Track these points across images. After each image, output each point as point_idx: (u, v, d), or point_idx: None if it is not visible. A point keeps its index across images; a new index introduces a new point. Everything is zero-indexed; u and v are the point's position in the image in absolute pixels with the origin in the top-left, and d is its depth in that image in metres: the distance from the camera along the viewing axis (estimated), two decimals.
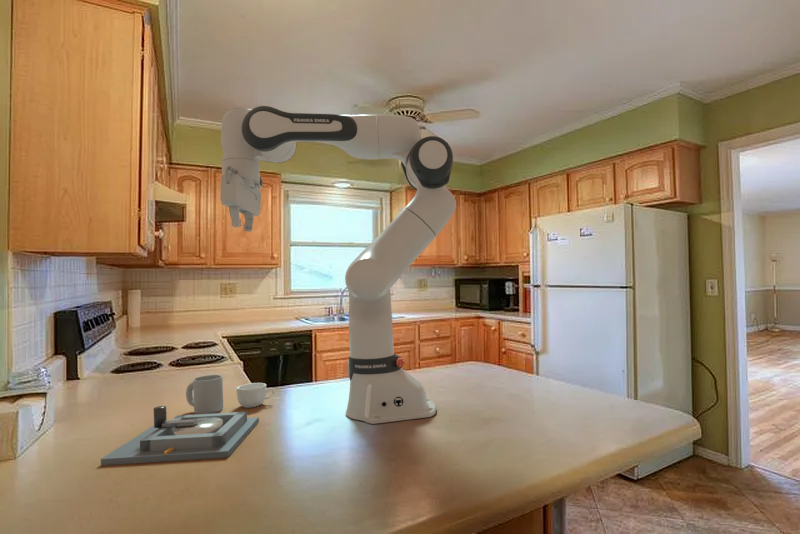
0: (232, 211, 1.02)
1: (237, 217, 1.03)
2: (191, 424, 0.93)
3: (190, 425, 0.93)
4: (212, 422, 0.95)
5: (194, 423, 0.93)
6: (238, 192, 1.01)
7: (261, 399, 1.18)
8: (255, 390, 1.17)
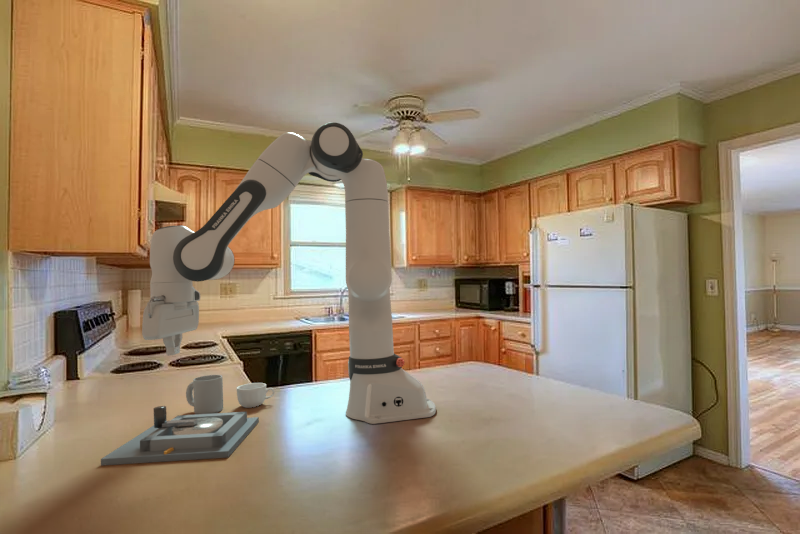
0: (166, 341, 0.99)
1: (172, 346, 0.99)
2: (191, 424, 0.93)
3: (190, 425, 0.93)
4: (212, 422, 0.95)
5: (194, 423, 0.93)
6: (163, 323, 0.94)
7: (261, 399, 1.18)
8: (255, 390, 1.17)
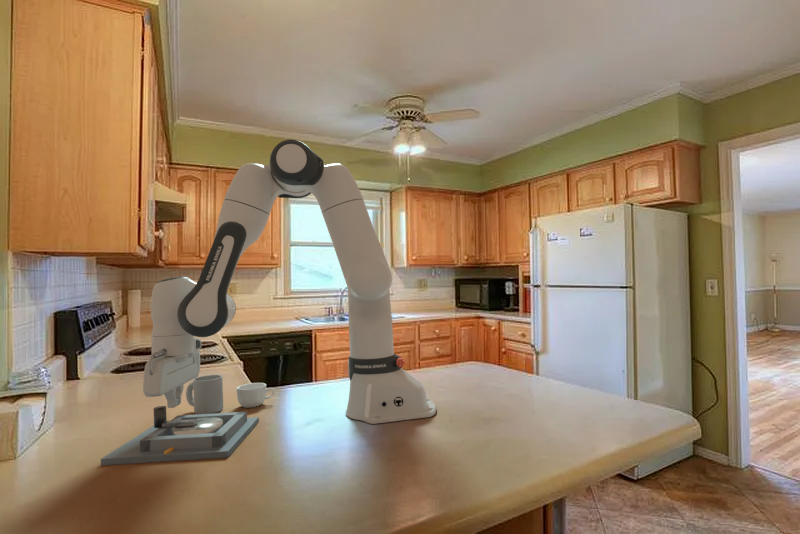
0: (167, 394, 0.98)
1: (173, 399, 0.99)
2: (191, 424, 0.93)
3: (190, 425, 0.93)
4: (212, 422, 0.95)
5: (194, 423, 0.93)
6: (165, 379, 0.93)
7: (261, 399, 1.18)
8: (255, 390, 1.17)
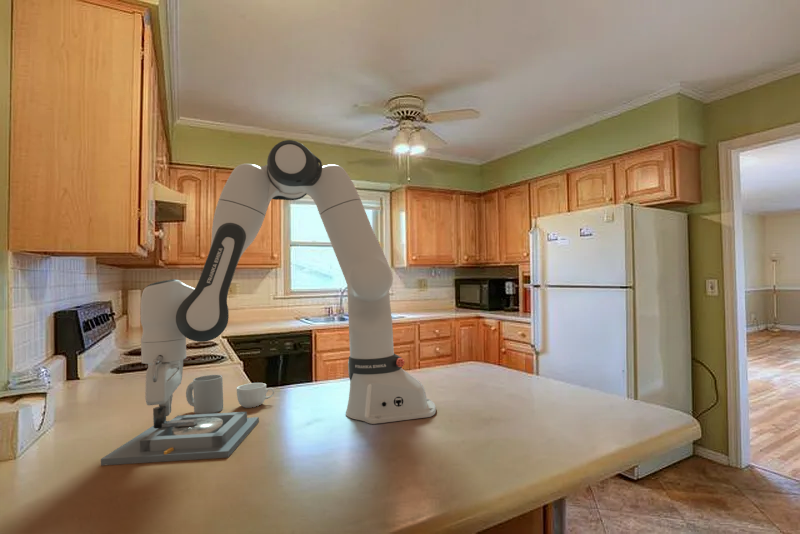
0: None
1: (167, 407, 0.95)
2: (191, 424, 0.93)
3: (190, 425, 0.93)
4: (212, 422, 0.95)
5: (194, 423, 0.93)
6: (167, 386, 0.90)
7: (261, 399, 1.18)
8: (255, 390, 1.17)
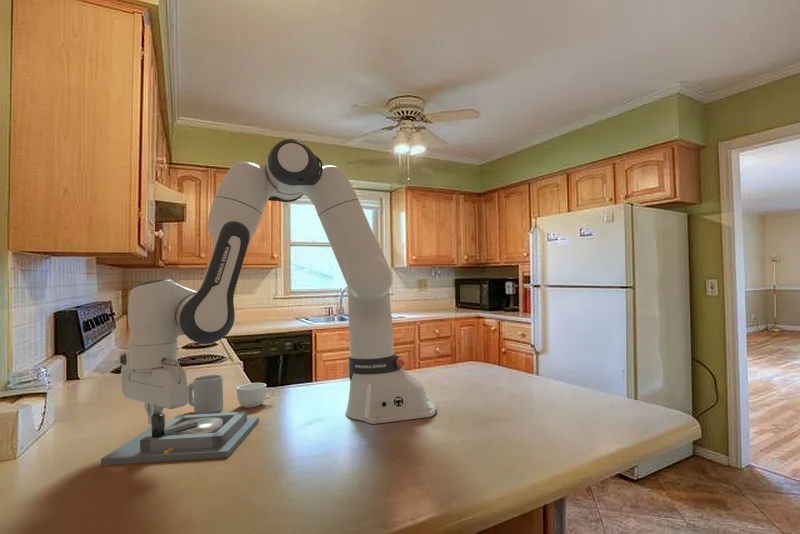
0: (157, 408, 0.88)
1: None
2: (195, 424, 0.93)
3: (194, 426, 0.92)
4: (207, 420, 0.97)
5: None
6: None
7: (261, 399, 1.18)
8: (255, 390, 1.17)
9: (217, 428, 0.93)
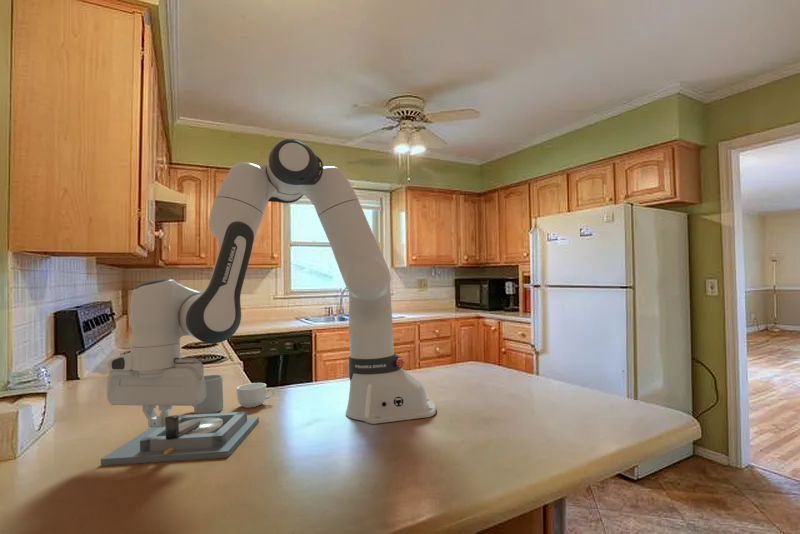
0: (167, 409, 0.88)
1: (167, 415, 0.88)
2: (198, 424, 0.93)
3: (198, 425, 0.93)
4: (201, 420, 0.97)
5: None
6: None
7: (261, 399, 1.18)
8: (255, 390, 1.17)
9: (222, 424, 0.95)
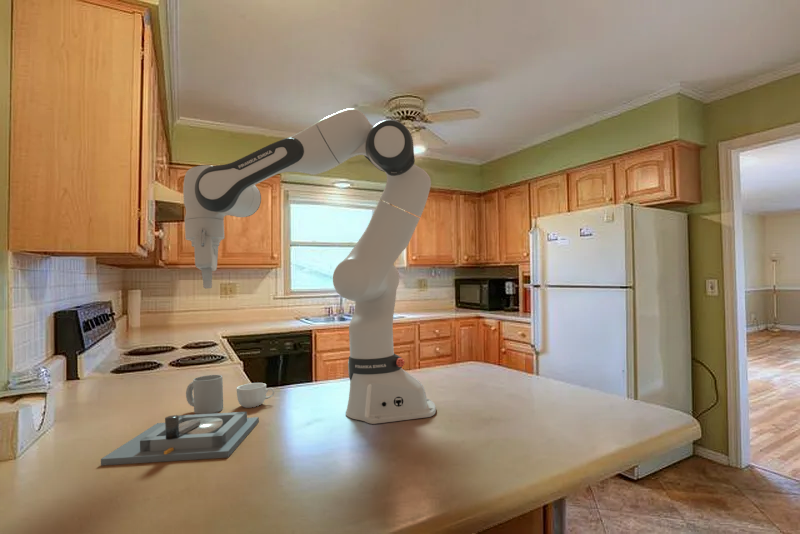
0: (205, 273, 1.04)
1: (209, 279, 1.05)
2: (198, 424, 0.93)
3: (198, 425, 0.93)
4: (201, 420, 0.97)
5: None
6: (212, 253, 1.00)
7: (261, 399, 1.18)
8: (255, 390, 1.17)
9: (222, 424, 0.95)
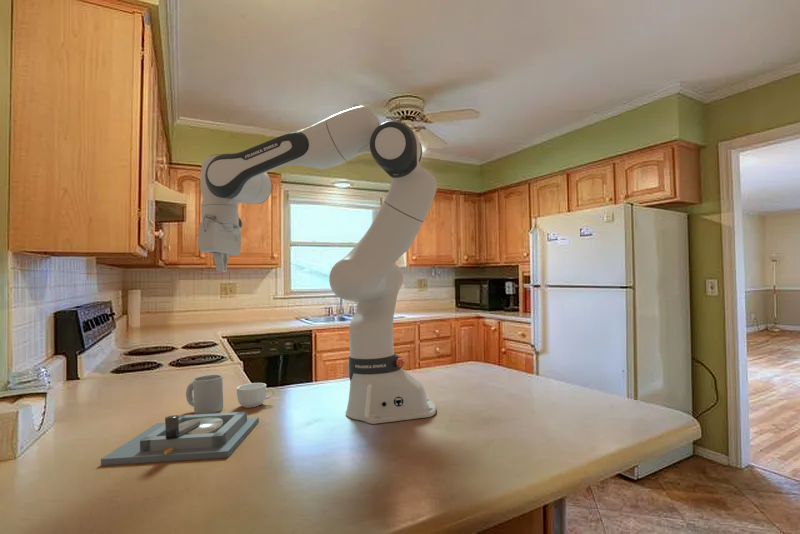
0: (216, 257, 1.09)
1: (221, 263, 1.10)
2: (198, 424, 0.93)
3: (198, 425, 0.93)
4: (201, 420, 0.97)
5: None
6: (216, 238, 1.05)
7: (261, 399, 1.18)
8: (255, 390, 1.17)
9: (222, 424, 0.95)
